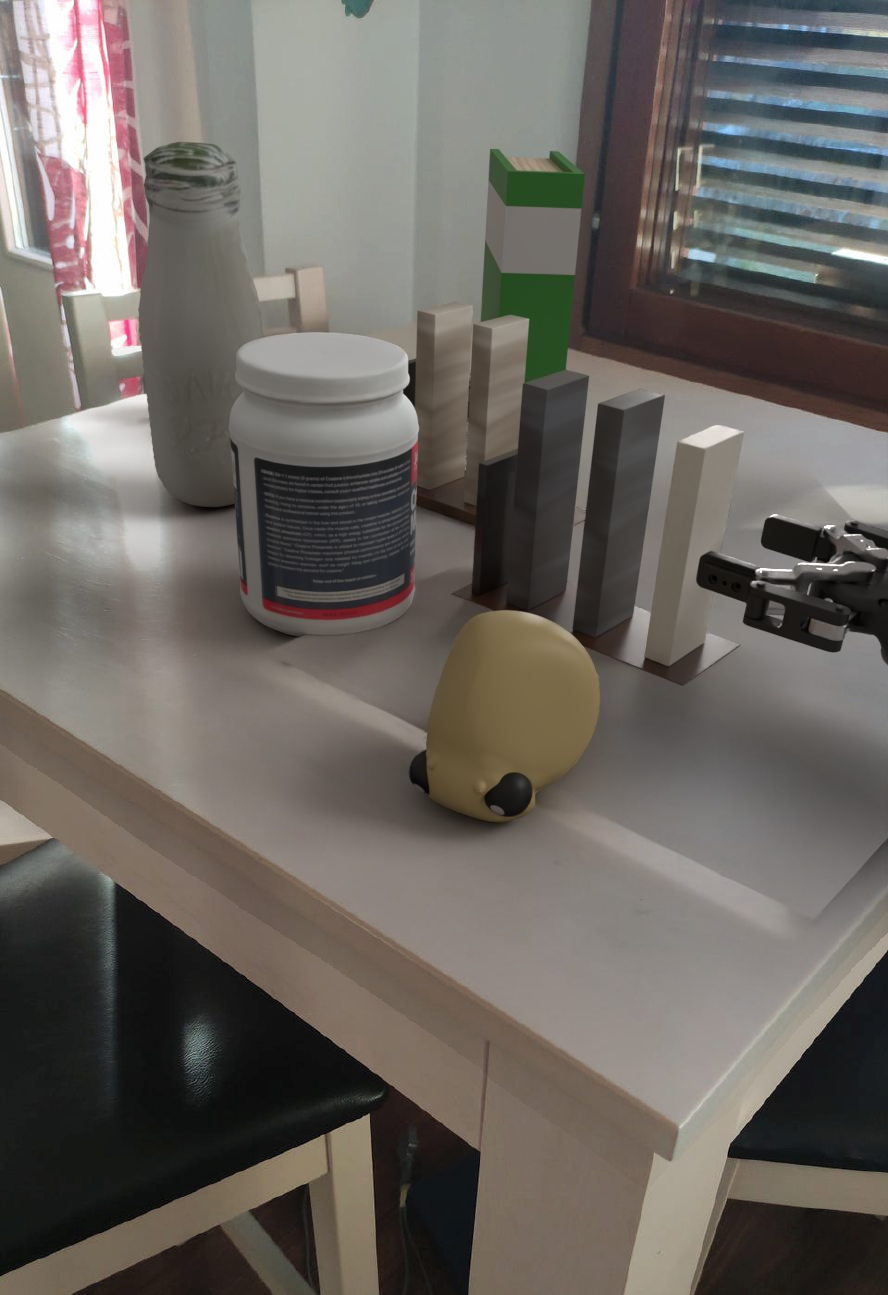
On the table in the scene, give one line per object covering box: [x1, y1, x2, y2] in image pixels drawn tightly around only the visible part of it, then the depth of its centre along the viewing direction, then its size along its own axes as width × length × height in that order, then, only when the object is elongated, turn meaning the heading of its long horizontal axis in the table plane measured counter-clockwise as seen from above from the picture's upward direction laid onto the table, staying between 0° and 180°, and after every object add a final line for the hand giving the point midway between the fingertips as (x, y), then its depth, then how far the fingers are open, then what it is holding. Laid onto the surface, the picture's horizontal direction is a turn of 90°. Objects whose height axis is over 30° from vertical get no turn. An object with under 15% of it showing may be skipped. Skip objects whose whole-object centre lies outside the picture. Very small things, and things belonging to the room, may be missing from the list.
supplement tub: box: [229, 331, 419, 638], centre depth 81 cm, size 13×13×18 cm
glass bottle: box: [138, 141, 264, 508], centre depth 95 cm, size 10×10×28 cm
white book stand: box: [403, 301, 586, 527], centre depth 100 cm, size 20×8×16 cm, turn 50°
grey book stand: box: [451, 369, 741, 687], centre depth 80 cm, size 20×8×17 cm, turn 50°
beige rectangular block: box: [644, 424, 745, 666], centre depth 77 cm, size 2×5×15 cm, turn 140°
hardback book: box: [480, 148, 586, 383], centre depth 125 cm, size 18×7×24 cm, turn 4°
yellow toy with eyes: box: [408, 610, 601, 823], centre depth 66 cm, size 10×12×11 cm
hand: (733, 547), depth 75 cm, fingers open, 8 cm apart
